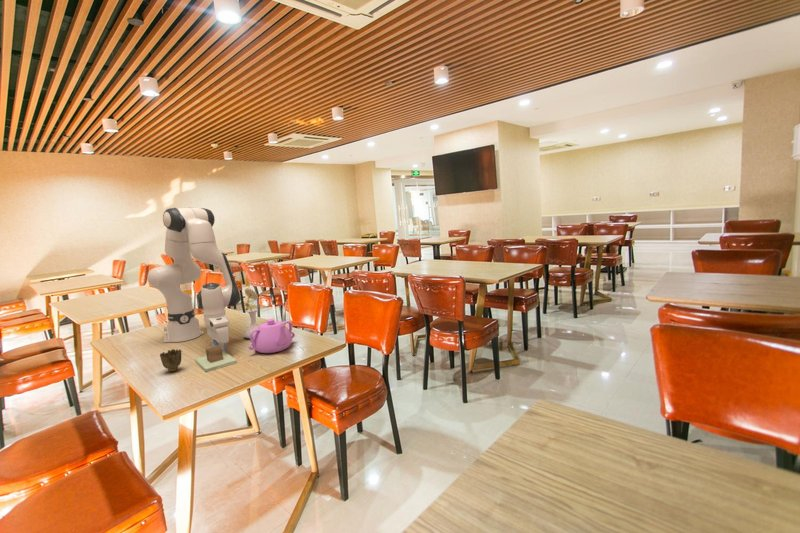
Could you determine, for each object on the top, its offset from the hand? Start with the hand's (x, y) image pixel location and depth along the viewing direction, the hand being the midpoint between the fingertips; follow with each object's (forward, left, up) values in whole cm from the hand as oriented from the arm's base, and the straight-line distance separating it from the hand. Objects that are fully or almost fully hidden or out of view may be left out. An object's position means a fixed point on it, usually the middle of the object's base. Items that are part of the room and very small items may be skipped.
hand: (219, 348), depth 169 cm
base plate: (+12, -5, -2) cm, 13 cm away
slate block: (0, 0, -2) cm, 2 cm away
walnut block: (+12, -5, 0) cm, 13 cm away
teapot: (+18, +19, -2) cm, 26 cm away
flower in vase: (-10, +20, -2) cm, 22 cm away
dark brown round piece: (+8, -20, -2) cm, 22 cm away
